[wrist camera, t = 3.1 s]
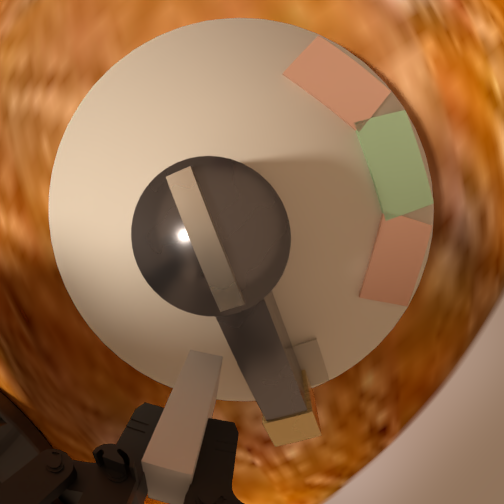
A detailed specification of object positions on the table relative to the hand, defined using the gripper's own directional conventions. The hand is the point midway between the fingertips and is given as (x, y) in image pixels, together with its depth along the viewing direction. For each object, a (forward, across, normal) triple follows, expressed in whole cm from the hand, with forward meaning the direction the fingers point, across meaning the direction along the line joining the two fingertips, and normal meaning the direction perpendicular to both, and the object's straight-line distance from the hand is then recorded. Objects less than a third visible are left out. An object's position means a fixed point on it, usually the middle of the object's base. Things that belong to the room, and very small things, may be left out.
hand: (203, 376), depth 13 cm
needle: (+2, +2, +4) cm, 4 cm away
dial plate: (+3, 0, +7) cm, 8 cm away
